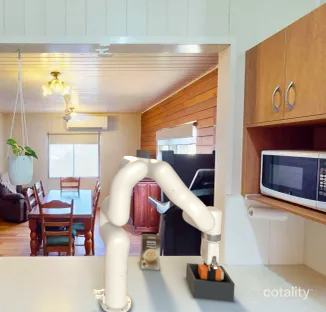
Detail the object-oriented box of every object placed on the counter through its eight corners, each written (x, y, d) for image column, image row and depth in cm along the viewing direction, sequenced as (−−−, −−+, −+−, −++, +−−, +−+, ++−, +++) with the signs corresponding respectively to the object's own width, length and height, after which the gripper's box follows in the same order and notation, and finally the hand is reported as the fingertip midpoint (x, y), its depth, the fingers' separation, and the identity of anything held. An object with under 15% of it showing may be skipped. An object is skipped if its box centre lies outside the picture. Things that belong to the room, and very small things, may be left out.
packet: (201, 279, 105) (201, 270, 105) (198, 272, 110) (198, 264, 110) (223, 280, 104) (224, 272, 104) (219, 274, 109) (219, 265, 108)
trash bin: (193, 297, 102) (194, 280, 101) (186, 278, 116) (186, 263, 115) (233, 301, 100) (234, 284, 99) (221, 281, 113) (222, 265, 112)
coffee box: (141, 269, 123) (141, 238, 122) (139, 262, 130) (140, 233, 128) (159, 270, 123) (160, 239, 121) (157, 263, 129) (158, 234, 127)
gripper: (196, 227, 114) (195, 264, 116) (208, 244, 97) (206, 286, 99) (213, 228, 113) (211, 265, 115) (228, 245, 96) (225, 288, 98)
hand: (209, 275), depth 107 cm, fingers closed on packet, 5 cm apart
